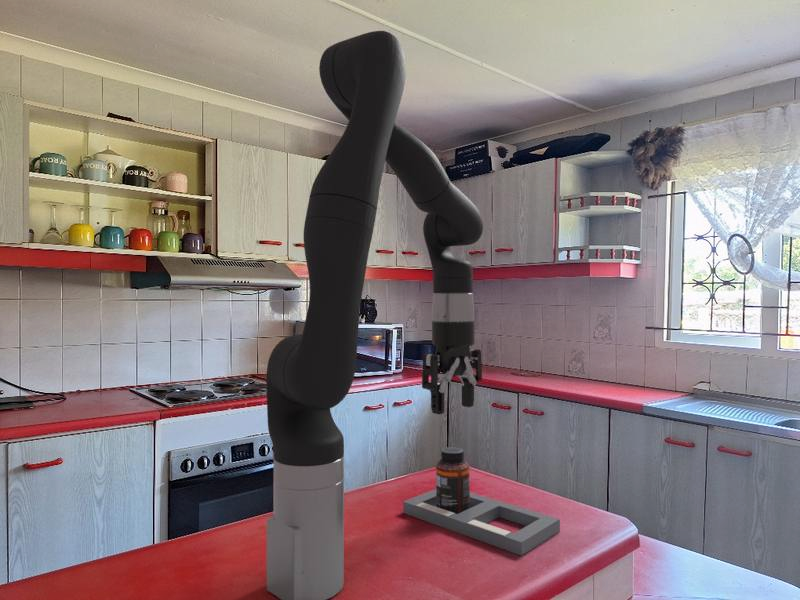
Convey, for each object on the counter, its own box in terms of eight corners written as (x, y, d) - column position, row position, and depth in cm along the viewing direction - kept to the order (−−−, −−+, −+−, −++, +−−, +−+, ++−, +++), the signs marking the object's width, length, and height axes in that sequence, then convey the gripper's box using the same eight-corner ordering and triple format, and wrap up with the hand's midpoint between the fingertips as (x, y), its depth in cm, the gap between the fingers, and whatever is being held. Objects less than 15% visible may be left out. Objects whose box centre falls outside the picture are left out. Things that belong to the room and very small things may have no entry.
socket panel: (521, 555, 82) (521, 541, 82) (403, 512, 98) (403, 501, 98) (559, 531, 91) (559, 518, 91) (445, 495, 107) (445, 484, 107)
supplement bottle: (469, 507, 101) (469, 445, 101) (470, 520, 95) (470, 454, 95) (436, 506, 102) (436, 444, 102) (435, 519, 96) (435, 453, 96)
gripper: (444, 320, 90) (444, 419, 90) (493, 318, 101) (493, 406, 101) (410, 319, 96) (410, 413, 96) (460, 317, 106) (460, 401, 106)
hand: (453, 409), depth 98 cm, fingers open, 8 cm apart
